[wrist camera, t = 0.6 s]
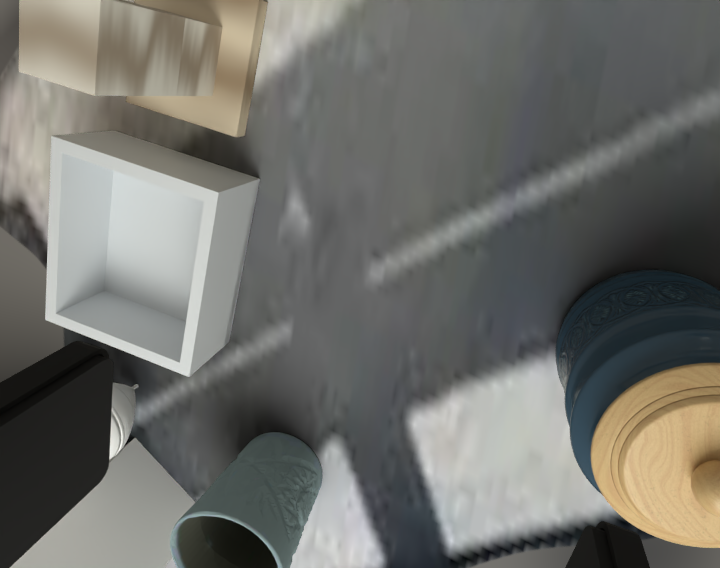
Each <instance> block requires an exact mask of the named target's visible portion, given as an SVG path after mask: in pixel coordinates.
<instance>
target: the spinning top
mask: <svg viewBox="0 0 720 568" xmlns="http://www.w3.org/2000/svg"><path fill="white" fill-rule="evenodd" d="M137 387H138V384H135V385H134V386H133V387H130V386H127V385H124V384H119V383H113V390H112V412H111V434H110V456H109V460H110V459H111V458H113V457H114V456H115V455H117V454H118V453H119V451H120V450H121V449H122V448H123V447H124V445H125V444H126V442H127V440H128V438H129V435H130V432H131V429H132V425H133V422H134V415H135V391H134V390H135V389H136V388H137Z"/></svg>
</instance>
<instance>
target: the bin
mask: <svg viewBox="0 0 720 568" xmlns="http://www.w3.org/2000/svg"><path fill="white" fill-rule="evenodd" d="M259 183H260V179H259V178H256V177H253V176H250V175H247V174H244V173H241V172H238V171H235V170H232V169H229V168H226V167H223V166H220V165H217V164H214V163H211V162H208V161H205V160H202V159H199V158H196V157H193V156H190V155H187V154H184V153H181V152H178V151H175V150H172V149H169V148H166V147H163V146H160V145H157V144H154V143H151V142H148V141H145V140H142V139H139V138H136V137H133V136H130V135H127V134H124V133H120V132H117V131H114V130H113V131H102V132H90V133H78V134H67V135H55V136H51V162H50V193H49V223H48V254H47V286H46V316H45V320H47V321H50V322H52V323H55V324H57V325H60V326H62V327H65V328H67V329H70V330H72V331H75V332H77V333H80V334H82V335H85V336H87V337H90V338H92V339H95V340H97V341H100V342H102V343H105V344H107V345H110V346H112V347H115V348H117V349H120V350H122V351H125V352H127V353H130V354H132V355H135V356H137V357H140V358H142V359H145V360H147V361H150V362H152V363H155V364H158V365H160V366H163V367H165V368H168V369H170V370H173V371H175V372H178V373H180V374H183V375H185V376H188V377H190V376H191V375H192V374H193V373H194V372H195V371H197V370H198V369H199V368H200V367H201V366H202V365H203V364H204V363H206V362H207V361H208V360H209V359H210V358H211V357H212V356H214V355H215V354H216V353H217V352H218V351H219V350H220V349H221V348H223V347H224V346H225V345H226V344H227V343H228V342H229V341H230V336H231V330H232V325H233V320H234V314H235V309H236V304H237V299H238V293H239V288H240V283H241V278H242V272H243V267H244V262H245V256H246V251H247V246H248V241H249V235H250V230H251V225H252V220H253V214H254V209H255V204H256V198H257V193H258V188H259Z"/></svg>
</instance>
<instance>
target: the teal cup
mask: <svg viewBox="0 0 720 568" xmlns="http://www.w3.org/2000/svg"><path fill="white" fill-rule="evenodd" d="M321 483H322V469H321V465H320V462H319V460H318V458H317V457H316V455H315V453H314V452H313V451H312V450H311V448H310V447H308V446H307V445H306V444H305V443H304V442H302V441H301V440H299V439H297V438H296V437H294V436H291V435H289V434H285V433H280V432H269V433H264V434H262V435H259V436H257V437H256V438H254V439H253V440H251V441H250V442H249V443H248V444H247V446H246V447H245V448H244V449H243V450H242V451H241V452H240V454H239V455H238V458H237V459H236V460H234V461H233V462H232V463H231V464H229V466H228V467H227V468H226V469H225V471H224V472H223V473H222V474H221V475H220V476H219V477H218V478H217V479H216V481H215V482H214V483H213V484H212V485H211V486H210V487H209V489H208V490H207V491H206V492H205V493H204V494H203V495H202V496H201V498H200V499H199V500H198V501H196V502H195V503H194V504H193V506H192V507H191V508H190V509H189V510H188V511H187V512H186V513H185V514H184V515H183V516H182V517H181V518H180V519H179V520H178V521H177V523H176V524H175V526H174V528H173V530H172V533H171V536H170V549H171V554H172V557H173V560H174V562H175V564H176V566H177V568H290V565H291V563H292V556H293V554H294V553H295V552H296V549H297V546H298V545H299V541H300V538H301V536H302V532H303V530H304V525H305V524H306V522H307V521H308V516H309V514H310V512H311V510H312V506H313V504H314V502H315V499H316V497H317V495H318V492H319V490H320V487H321Z"/></svg>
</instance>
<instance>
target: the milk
mask: <svg viewBox="0 0 720 568" xmlns="http://www.w3.org/2000/svg"><path fill="white" fill-rule="evenodd" d="M194 503H195V501H194V500H193V499H192V498H191V497H190V496H189V495H188V494H187V493H186V492H185V491H184V490H183V489H182V487H181V486H180V485H179V484H178V483H177V482H176V481H175V480H174V479H173V478H172V477H171V476H170V475H169V474H168V472H167V471H166V470H165V469H164V468H163V467H162V466H161V465H160V464H159V463H158V462H157V461H156V460H155V458H154V457H153V456H152V455H151V454H150V453H149V452H148V451H147V450H146V449H145V448H144V447H143V446H142V445H141V443H140V442H139V441H138V440H137V439H136V438H134V439H133V440H132V441H131V442H129V443H128V444H127V445H126V446H124V447H123V448H122V449H121V450H120V451H119V453H118V454H117V455H115V456H114V457H113V458H111V459H110V460H109V467H108V470H107V473H106V475H105V476H104V478H103V479H102V481H101V482H100V483H99V484H98V485H97V486H96V487H95V488H94V489H93V490H92V491H91V492H89V493H88V494H87V495H86V496H85V497H84V498H83V499H82V500H81V501H80V502H79V503H78V504H77V505H76V506H75V507H74V508H72V509H71V510H70V511H69V512H68V513H67V514H66V515H65V516H64V517H63V518H62V519H61V520H60V521H59V522H58V523H57V524H56V525H54V526H53V527H52V528H51V529H50V530H49V531H48V532H47V533H46V534H45V535H44V536H43V537H42V538H41V539H40V540H39V541H38V542H36V543H35V544H34V545H33V546H32V547H31V548H30V549H29V550H28V551H27V552H26V553H25V554H24V555H23V556H22V557H21V558H19V559H18V560H17V561H16V562H15V563H14V564H13V565H12V566H11V567H10V568H164V567H165V566H166V565H167V564H168V562H169V561H170V560H171V559H172V554H171V549H170V536H171V533H172V530H173V528H174V526H175V524H176V523H177V521H178V520H179V519H180V518H181V517H182V516H183V515H184V514H185V513H186V512H187V511H188V510H189V509H190V508H191V507H192V506H193V504H194Z"/></svg>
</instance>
